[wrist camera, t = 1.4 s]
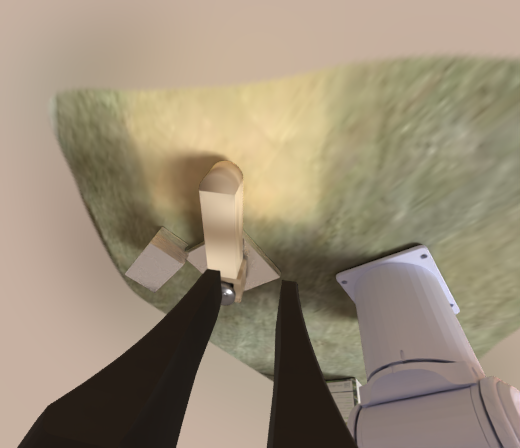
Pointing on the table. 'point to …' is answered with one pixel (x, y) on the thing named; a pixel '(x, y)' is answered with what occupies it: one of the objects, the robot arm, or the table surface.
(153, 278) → the block
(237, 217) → the link
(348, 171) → the table surface
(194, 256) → the pintle base
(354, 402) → the syrup box
